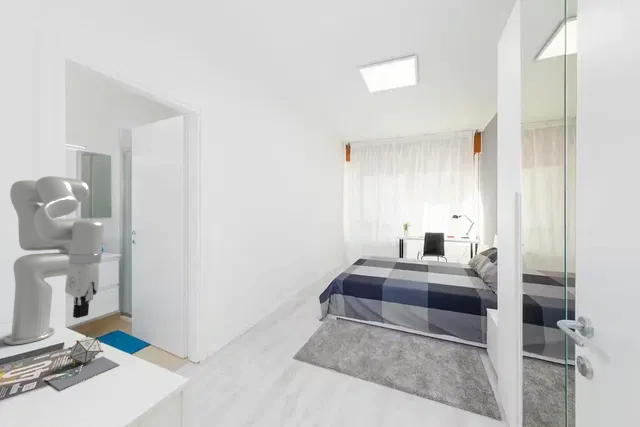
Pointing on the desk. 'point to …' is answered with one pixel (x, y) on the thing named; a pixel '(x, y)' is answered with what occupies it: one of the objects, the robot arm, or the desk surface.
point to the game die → (85, 349)
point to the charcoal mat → (85, 372)
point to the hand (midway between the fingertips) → (80, 316)
